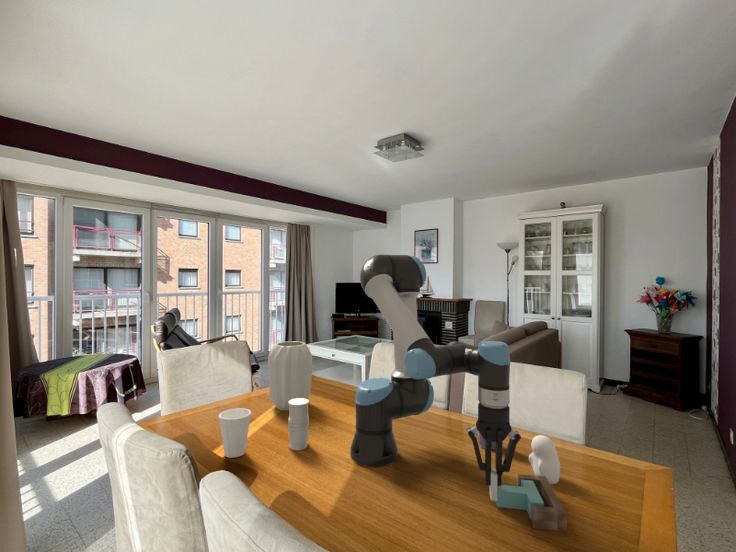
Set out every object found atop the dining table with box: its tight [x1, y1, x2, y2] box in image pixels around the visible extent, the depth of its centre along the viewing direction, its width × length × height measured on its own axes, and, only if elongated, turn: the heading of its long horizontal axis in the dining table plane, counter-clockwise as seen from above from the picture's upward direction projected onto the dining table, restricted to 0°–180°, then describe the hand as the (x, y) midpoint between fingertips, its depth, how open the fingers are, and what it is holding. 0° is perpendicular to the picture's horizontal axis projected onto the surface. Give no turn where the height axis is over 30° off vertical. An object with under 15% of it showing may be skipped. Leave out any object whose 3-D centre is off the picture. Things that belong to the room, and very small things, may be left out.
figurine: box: [528, 434, 561, 485], centre depth 106 cm, size 7×8×12 cm
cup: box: [217, 407, 252, 459], centre depth 120 cm, size 10×10×13 cm
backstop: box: [517, 473, 568, 533], centre depth 92 cm, size 7×16×4 cm, turn 170°
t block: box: [495, 480, 545, 520], centre depth 93 cm, size 10×10×4 cm
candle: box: [287, 398, 310, 451], centre depth 126 cm, size 7×7×15 cm
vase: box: [267, 340, 313, 412], centre depth 164 cm, size 20×20×28 cm
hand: (493, 497), depth 94 cm, fingers closed
